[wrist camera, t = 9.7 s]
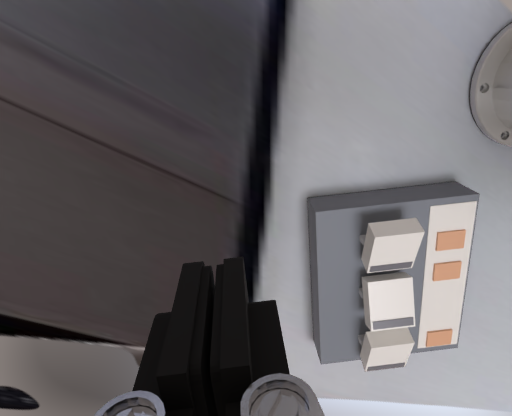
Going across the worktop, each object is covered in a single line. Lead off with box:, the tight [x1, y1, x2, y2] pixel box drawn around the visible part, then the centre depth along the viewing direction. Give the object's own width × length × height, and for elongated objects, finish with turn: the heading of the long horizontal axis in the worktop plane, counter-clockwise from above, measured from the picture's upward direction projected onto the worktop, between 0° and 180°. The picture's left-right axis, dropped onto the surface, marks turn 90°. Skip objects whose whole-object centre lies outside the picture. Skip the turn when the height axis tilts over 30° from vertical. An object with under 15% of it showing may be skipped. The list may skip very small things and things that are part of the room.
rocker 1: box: [361, 218, 425, 273], centre depth 34 cm, size 4×5×2 cm
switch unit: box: [307, 182, 479, 364], centre depth 40 cm, size 16×19×5 cm
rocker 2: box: [360, 327, 415, 371], centre depth 39 cm, size 4×5×2 cm
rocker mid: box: [362, 272, 415, 332], centre depth 36 cm, size 4×5×2 cm
